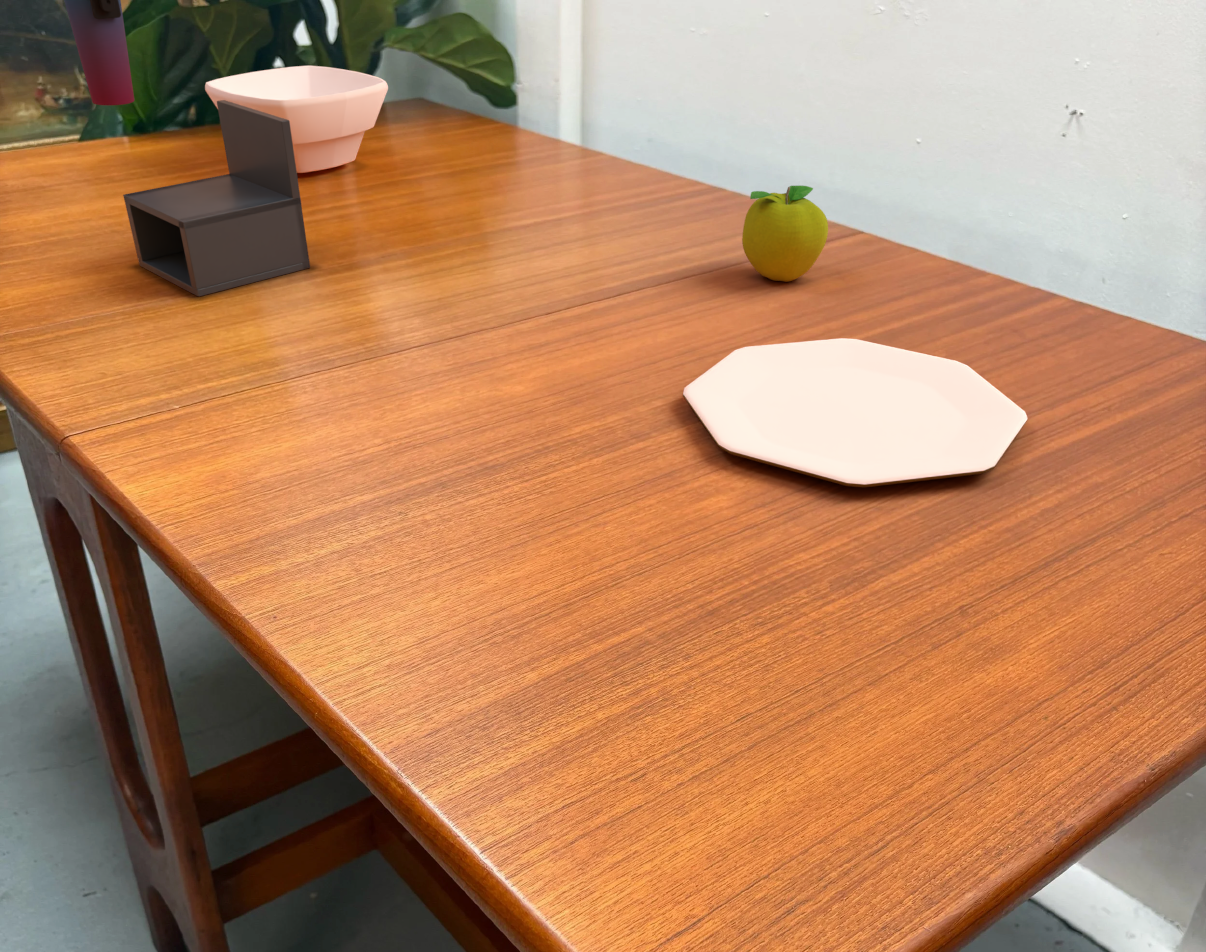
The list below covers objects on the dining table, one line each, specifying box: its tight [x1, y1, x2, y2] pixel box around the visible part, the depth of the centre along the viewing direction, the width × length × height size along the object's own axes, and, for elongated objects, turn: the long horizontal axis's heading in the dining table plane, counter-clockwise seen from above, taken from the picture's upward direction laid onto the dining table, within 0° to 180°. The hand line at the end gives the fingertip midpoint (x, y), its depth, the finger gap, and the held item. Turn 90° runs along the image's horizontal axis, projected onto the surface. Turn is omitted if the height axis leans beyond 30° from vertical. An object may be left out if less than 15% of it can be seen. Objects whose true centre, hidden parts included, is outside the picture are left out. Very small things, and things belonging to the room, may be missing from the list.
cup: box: [63, 0, 135, 106], centre depth 140 cm, size 7×7×15 cm
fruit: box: [741, 185, 829, 283], centre depth 126 cm, size 9×9×10 cm
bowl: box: [204, 65, 389, 174], centre depth 164 cm, size 22×22×12 cm
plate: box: [682, 337, 1028, 488], centre depth 99 cm, size 28×28×2 cm
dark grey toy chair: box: [122, 100, 311, 297], centre depth 126 cm, size 14×14×16 cm
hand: (95, 13), depth 139 cm, fingers closed on cup, 6 cm apart
